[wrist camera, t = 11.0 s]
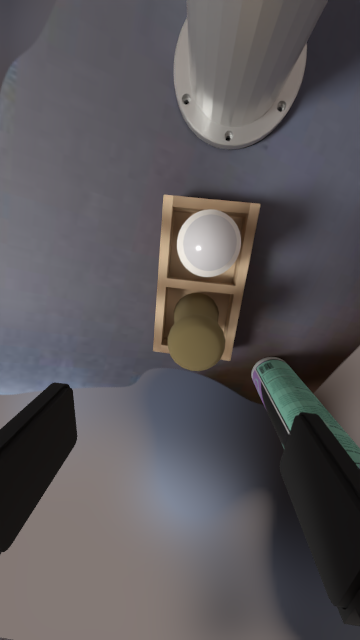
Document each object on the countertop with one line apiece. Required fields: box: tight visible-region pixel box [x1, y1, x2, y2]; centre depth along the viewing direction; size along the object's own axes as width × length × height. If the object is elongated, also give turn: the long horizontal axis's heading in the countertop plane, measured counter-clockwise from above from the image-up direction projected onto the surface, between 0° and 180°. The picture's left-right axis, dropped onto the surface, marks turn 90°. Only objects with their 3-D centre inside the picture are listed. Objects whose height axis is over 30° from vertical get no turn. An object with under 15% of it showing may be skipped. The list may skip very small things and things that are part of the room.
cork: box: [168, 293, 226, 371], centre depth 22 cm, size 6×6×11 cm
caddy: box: [153, 195, 260, 361], centre depth 26 cm, size 18×10×4 cm, turn 174°
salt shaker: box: [177, 209, 241, 277], centre depth 20 cm, size 5×5×10 cm
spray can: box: [252, 357, 360, 469], centre depth 21 cm, size 6×6×20 cm
